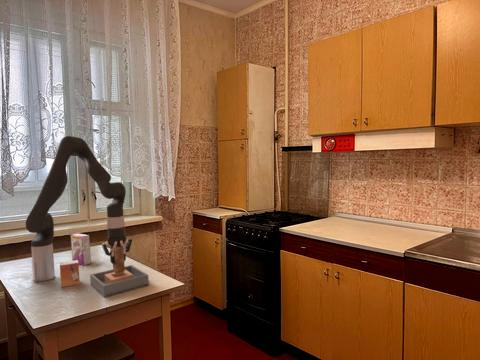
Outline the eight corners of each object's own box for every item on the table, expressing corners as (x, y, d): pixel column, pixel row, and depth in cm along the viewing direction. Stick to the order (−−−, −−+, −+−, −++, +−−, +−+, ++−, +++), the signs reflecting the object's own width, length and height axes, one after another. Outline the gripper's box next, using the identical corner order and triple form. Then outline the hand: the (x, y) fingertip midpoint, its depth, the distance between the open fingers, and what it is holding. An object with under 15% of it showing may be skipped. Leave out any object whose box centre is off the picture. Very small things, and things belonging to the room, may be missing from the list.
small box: (60, 287, 159) (59, 265, 158) (60, 284, 164) (59, 262, 163) (80, 284, 162) (78, 262, 162) (79, 280, 167) (78, 259, 167)
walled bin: (104, 297, 146) (103, 286, 145) (90, 284, 161) (90, 274, 161) (148, 285, 158) (148, 274, 158) (132, 274, 174) (131, 264, 173)
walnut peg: (116, 273, 156) (114, 247, 156) (113, 271, 159) (111, 246, 159) (124, 271, 159) (123, 245, 158) (121, 269, 162) (120, 244, 161)
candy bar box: (71, 263, 197) (70, 234, 196) (79, 260, 201) (78, 233, 200) (83, 265, 191) (81, 236, 190) (91, 263, 195) (89, 234, 194)
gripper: (128, 222, 165) (130, 257, 166) (97, 227, 156) (100, 264, 157) (134, 224, 159) (136, 261, 160) (102, 229, 150) (105, 268, 152)
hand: (118, 262), depth 159 cm, fingers closed on walnut peg, 4 cm apart
